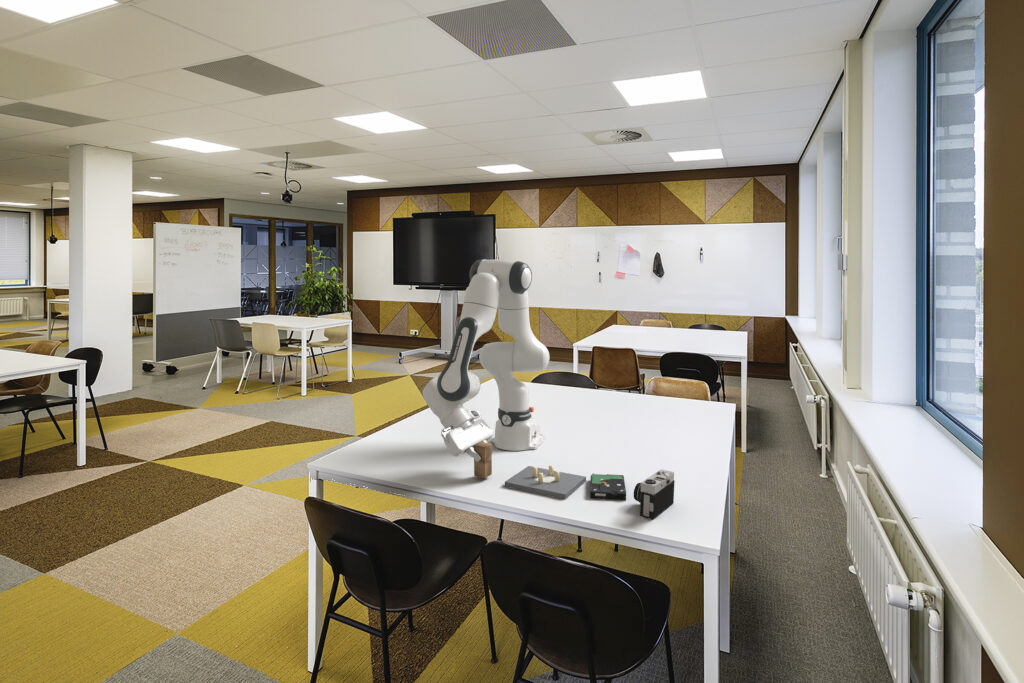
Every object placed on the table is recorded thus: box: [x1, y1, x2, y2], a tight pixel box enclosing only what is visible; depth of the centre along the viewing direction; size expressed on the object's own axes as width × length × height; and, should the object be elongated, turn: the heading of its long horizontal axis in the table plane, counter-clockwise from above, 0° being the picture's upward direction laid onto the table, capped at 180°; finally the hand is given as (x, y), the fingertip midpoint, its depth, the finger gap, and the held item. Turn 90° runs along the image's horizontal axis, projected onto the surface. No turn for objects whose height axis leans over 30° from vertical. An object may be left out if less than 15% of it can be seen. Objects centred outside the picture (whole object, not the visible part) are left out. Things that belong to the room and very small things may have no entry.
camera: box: [633, 468, 676, 521], centre depth 153 cm, size 14×9×10 cm, turn 134°
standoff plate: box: [504, 464, 587, 500], centre depth 171 cm, size 16×20×4 cm
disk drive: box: [589, 473, 627, 502], centre depth 167 cm, size 10×3×15 cm
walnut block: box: [473, 442, 493, 479], centre depth 175 cm, size 4×4×10 cm
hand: (484, 457), depth 174 cm, fingers closed on walnut block, 4 cm apart
